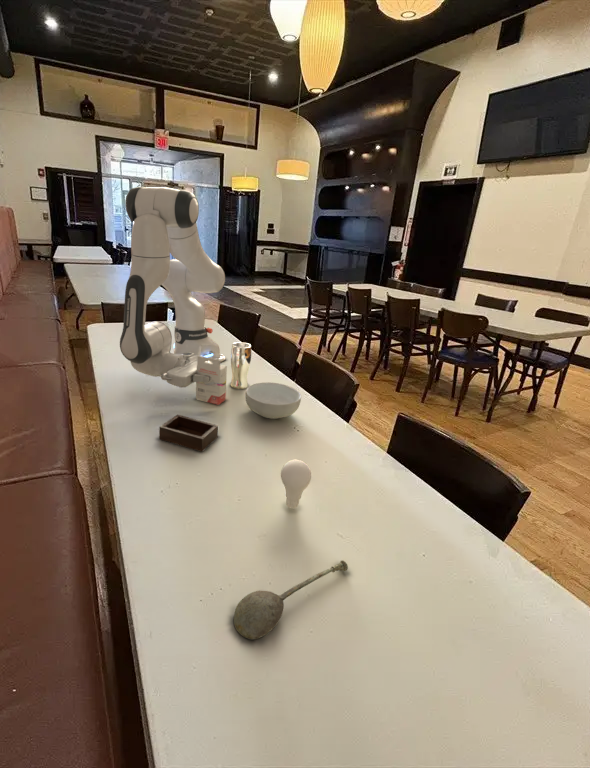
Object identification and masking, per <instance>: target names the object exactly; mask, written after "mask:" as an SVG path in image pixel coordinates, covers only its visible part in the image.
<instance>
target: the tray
mask: <svg viewBox="0 0 590 768" xmlns="http://www.w3.org/2000/svg"><path fill="white" fill-rule="evenodd" d="M158 430H159V431H158V432H159V433H158V434H159V440H161V441H164V442H168V443H171V444H174V445H178V446H181V447H184V448H188V449H191V450H195V451H198V452H201V453H202V452H204V451H205V449H207V448H208V447H209V446H210V445H211V444H212V443H213V442H215V441H216V440H217V439H218V437H219V436H218V435H219V425H217V424H215V423H211V422H207V421H203V420H201V419H197V418H193V417H188V416H184V415H181V414H176V415H175V416H173V417H172V418H170V419H169V420H167V421H166V422H164V423H163V424H162V425H160V426H159V428H158Z"/></svg>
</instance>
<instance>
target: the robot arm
mask: <svg viewBox="0 0 590 768" xmlns="http://www.w3.org/2000/svg"><path fill="white" fill-rule="evenodd" d="M124 204H125V205H124V206H125V212H126V214H127V216H128V218H129V220H130V221H131V222H132V228H131V240H130V244H131V245H130V252H131V253H130V254H131V262H130V263H131V265H130V272H129V276H128V279H127V281H126V284H125V290H124V291H125V292H124V307H123V324H122V325H123V326H122V332H121V335H120V338H119V349H120V352H121V354H122V355H123V357H124V358H125V359H126V360H127V361H129V362H130V364H131V367H132V368H133V369H134V370H136V372H139V373H141V374H143V375H148V376H151V377H155V378H157V377H158V378H159V377H160V378H161V379H162V380H163V381H166V382H167V384H169V385H171V386H174V387H178V388H187V387H189V386H191V385H192V384H194V383H196V382H209V381H210V376H208V375H205V376H203V375H199V374H197V372H198V371H197V361H198V356H202V357H207V358H212V359H216V360H220V362H221V363H222V362H224V361H226V356H225V355H223V354H222V353H221V348H220V345H219V344H218V343H217V342H216V341H214V340H213V339H212V338H211V337H209V334H212V333H213V330H214V329H213V328H211V327H205V322H206V310H205V307H204V306H203V304H202V303H201V302H199V301H198V300H196V298H195V297H194V296H193V294H192V293H202V294H213V293H214V294H215V293H219V292H220V291H221V290H222V289H223V287H224V286H225V283H226V274H225V271H224V269H223V268H222V266H220V265H219V264H217V263H216V262H214V261H213V260H212V259H211V258H210V257H209V255H208V254H207V253H206V251H205V250H204V248H203V246H202V243H201V239H200V235H199V230H198V226H197V222H198V218H199V214H200V207H199V201H198V198H197V197H196V196H195V194H194V193H193V192H191V191H189V190H186V189H177V188H171V187H165V186H161V187H159V186H158V187H155V186H149V187H148V186H147V187H144V186H136V187H133V188H131V189H129V191H128V193H127V194H126V196H125V203H124ZM171 256H172V257H173V258H174V259H171ZM160 286H162V287H163V288H164V289H165V290H166V291H167V292H168V294H169V295H170V298H171V300H172V302H173V306H174V313H175V325H174V343H172V341H173V336H172V335H173V334H172V332H171V330H170V328H169V327H168V326H167V325H166V324H165V323H164V322H162V321H159V320H154V321H152V322H149V323H147V324H146V313H147V304H148V301H149V299H150V298H151V296H152V295H153V294H154V293H155V291H156V290H157V289H158V288H159V287H160ZM172 344H173V346H172ZM172 347H173V352H171V349H172ZM205 362H209V363H212V362H210V361H205Z"/></svg>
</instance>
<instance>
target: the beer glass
mask: <svg viewBox="0 0 590 768" xmlns="http://www.w3.org/2000/svg"><path fill="white" fill-rule="evenodd" d="M251 361H252V345H251V343H248V342H244V341H243V342H242V341H237V342H232V344H231V351H230V367H231V373H232V374H231V381H230V387H231V388H233V389H237V390H242V389H243V390H244V389H247V388H248V387H249V384H248V375H249V374H248V373H249V370H250V368H251V367H250V366H251Z"/></svg>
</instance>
